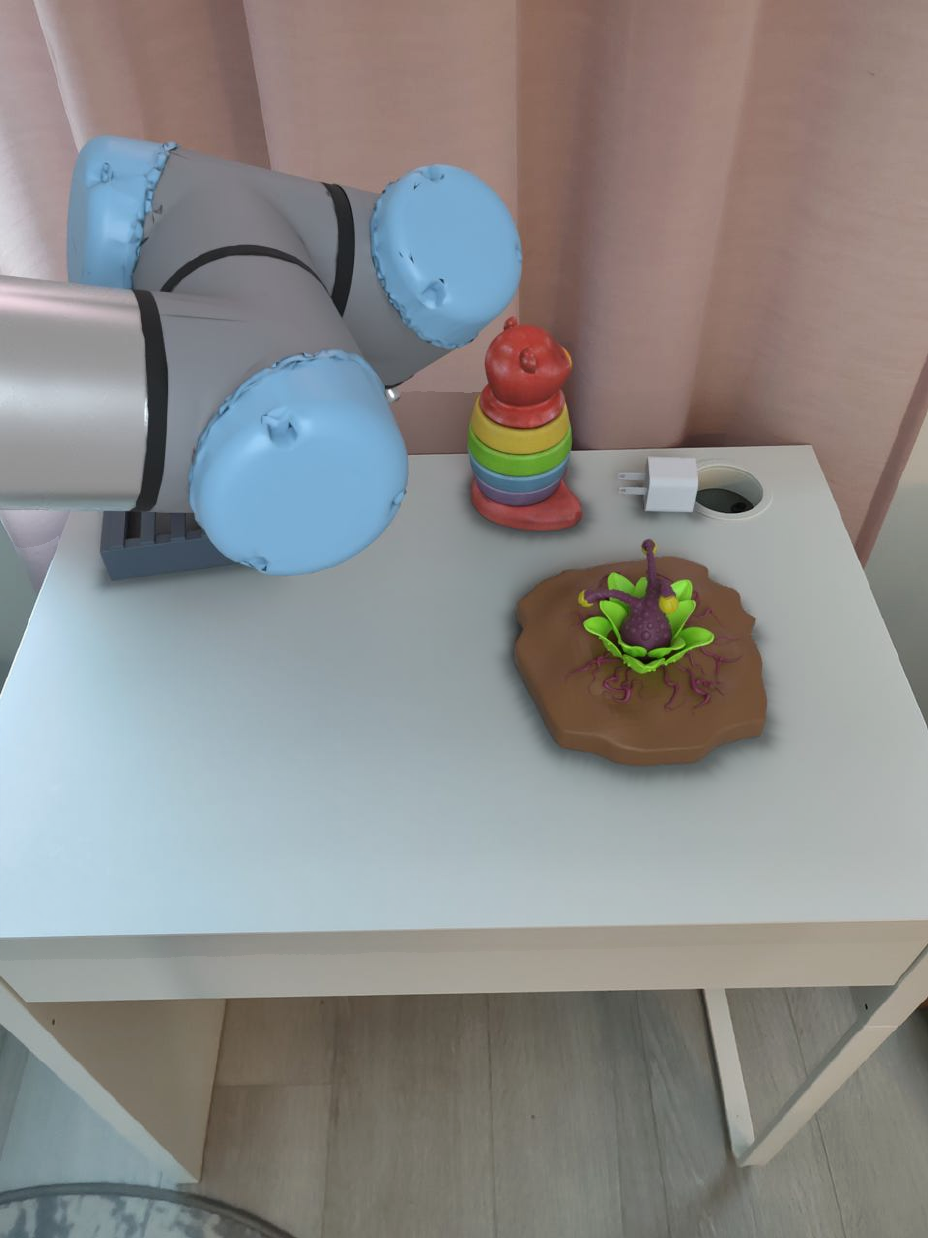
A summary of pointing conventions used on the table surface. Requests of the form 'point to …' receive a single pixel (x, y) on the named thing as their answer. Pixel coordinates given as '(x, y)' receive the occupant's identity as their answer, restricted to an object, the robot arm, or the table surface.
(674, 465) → the usb wall charger
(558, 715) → the plant
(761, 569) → the table surface
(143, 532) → the dish rack
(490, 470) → the stacking bear
